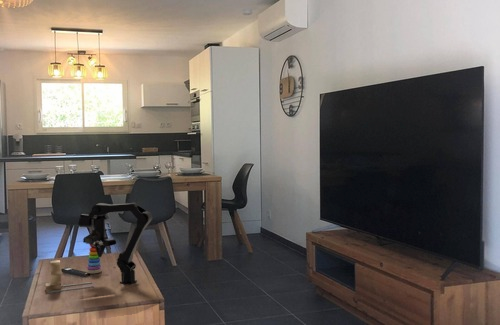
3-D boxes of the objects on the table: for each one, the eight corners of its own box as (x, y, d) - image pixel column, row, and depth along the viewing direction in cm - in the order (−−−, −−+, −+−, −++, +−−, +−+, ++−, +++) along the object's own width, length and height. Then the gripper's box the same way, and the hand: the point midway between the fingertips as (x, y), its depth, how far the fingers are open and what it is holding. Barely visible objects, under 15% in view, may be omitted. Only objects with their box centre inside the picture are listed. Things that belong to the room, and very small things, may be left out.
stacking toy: (97, 274, 293) (96, 240, 292) (84, 273, 295) (83, 240, 294) (104, 270, 301) (103, 238, 300) (91, 270, 303) (90, 237, 302)
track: (91, 284, 273) (91, 282, 273) (93, 288, 265) (93, 286, 265) (46, 290, 264) (46, 287, 264) (46, 294, 257) (46, 291, 257)
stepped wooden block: (60, 287, 265) (59, 259, 265) (61, 290, 260) (60, 262, 260) (45, 289, 263) (44, 261, 262) (46, 292, 258) (45, 263, 257)
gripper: (74, 228, 275) (75, 258, 276) (100, 231, 265) (100, 262, 266) (91, 225, 284) (91, 253, 285) (116, 228, 275) (117, 258, 276)
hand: (99, 257), depth 278 cm, fingers closed
